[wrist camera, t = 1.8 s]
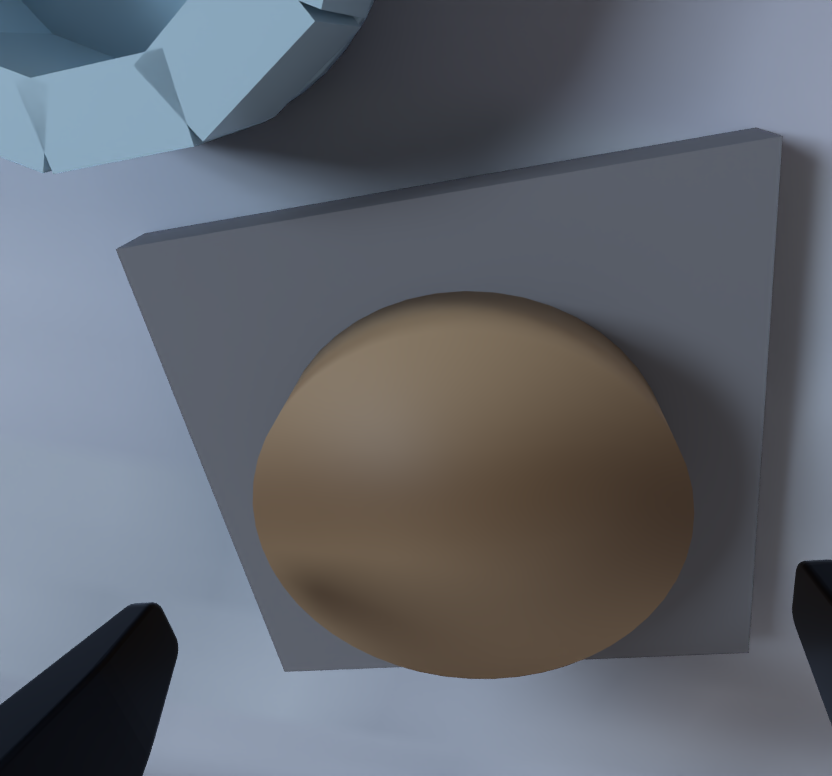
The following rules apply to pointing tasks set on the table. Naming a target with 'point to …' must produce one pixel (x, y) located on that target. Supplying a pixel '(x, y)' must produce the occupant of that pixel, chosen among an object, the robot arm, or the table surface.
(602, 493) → the lid
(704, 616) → the mat
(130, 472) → the table surface
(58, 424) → the table surface
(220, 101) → the bowl
